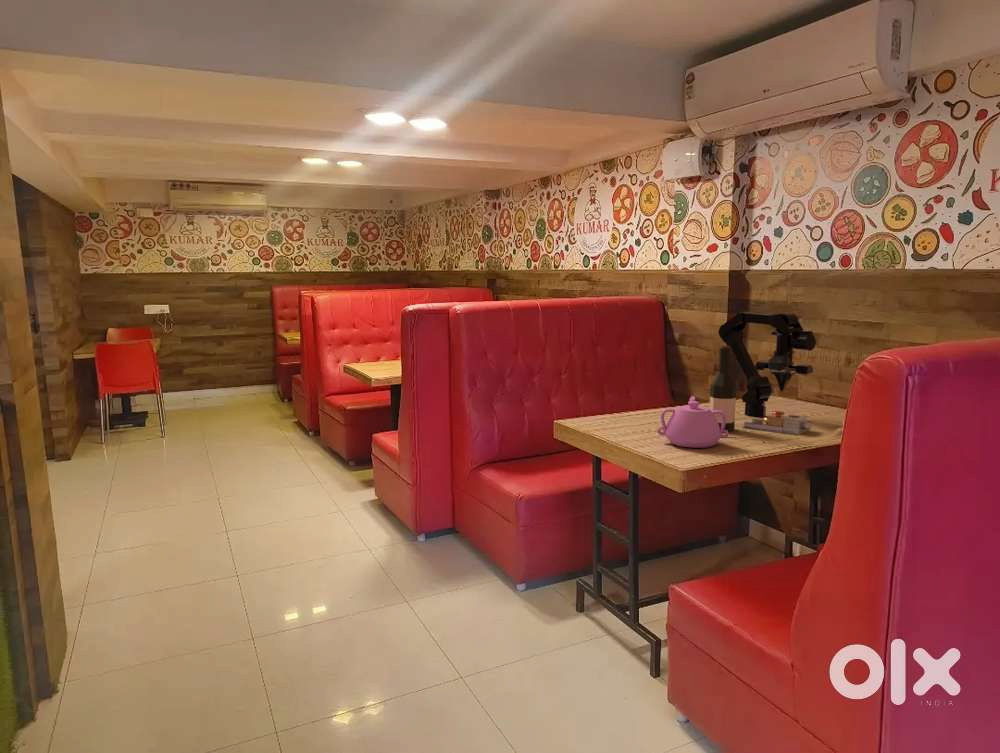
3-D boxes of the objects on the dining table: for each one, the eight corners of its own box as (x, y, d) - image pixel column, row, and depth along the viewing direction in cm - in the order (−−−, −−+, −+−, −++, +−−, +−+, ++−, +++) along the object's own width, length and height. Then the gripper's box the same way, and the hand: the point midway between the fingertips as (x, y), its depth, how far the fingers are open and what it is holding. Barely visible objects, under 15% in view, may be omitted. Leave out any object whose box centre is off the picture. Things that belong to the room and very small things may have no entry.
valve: (761, 428, 233) (762, 411, 232) (766, 426, 237) (767, 409, 236) (793, 433, 226) (794, 415, 225) (798, 430, 229) (799, 413, 228)
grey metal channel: (740, 430, 234) (741, 413, 233) (753, 424, 243) (754, 408, 242) (803, 439, 221) (805, 421, 220) (814, 433, 230) (815, 415, 229)
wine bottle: (734, 430, 234) (738, 345, 230) (734, 436, 226) (738, 347, 222) (709, 429, 237) (712, 344, 233) (708, 434, 229) (711, 346, 225)
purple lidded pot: (724, 436, 227) (725, 395, 225) (731, 452, 206) (732, 408, 204) (657, 433, 232) (658, 393, 230) (657, 448, 211) (658, 405, 209)
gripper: (749, 348, 242) (747, 390, 245) (802, 352, 229) (799, 397, 231) (763, 345, 250) (760, 387, 252) (814, 349, 237) (812, 393, 239)
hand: (782, 391), depth 243 cm, fingers closed
